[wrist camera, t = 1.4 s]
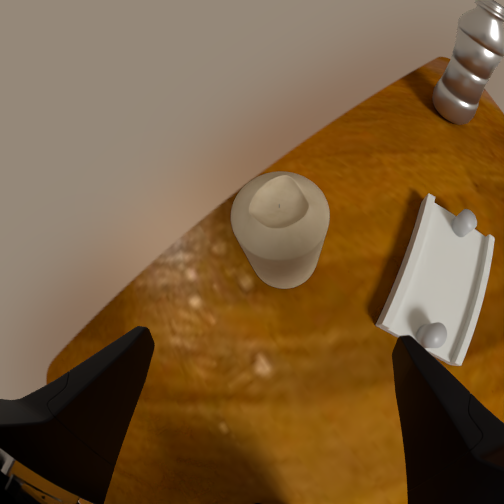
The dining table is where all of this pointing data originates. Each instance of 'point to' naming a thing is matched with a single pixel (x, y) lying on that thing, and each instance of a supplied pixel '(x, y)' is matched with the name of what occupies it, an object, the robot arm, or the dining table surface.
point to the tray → (440, 283)
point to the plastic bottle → (471, 62)
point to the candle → (281, 226)
